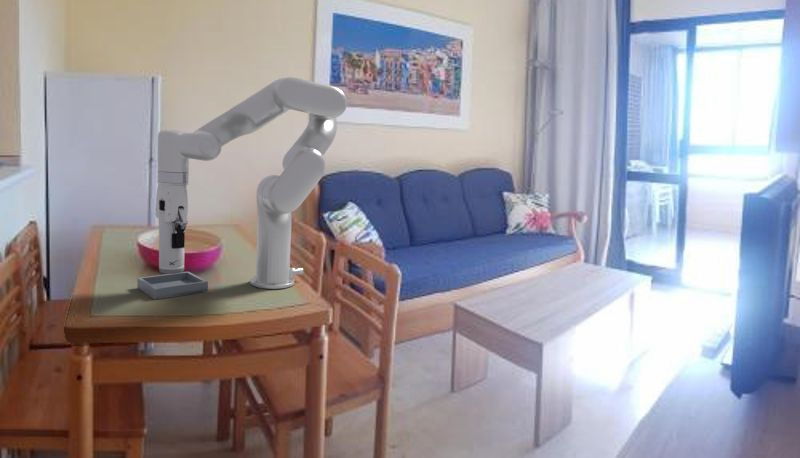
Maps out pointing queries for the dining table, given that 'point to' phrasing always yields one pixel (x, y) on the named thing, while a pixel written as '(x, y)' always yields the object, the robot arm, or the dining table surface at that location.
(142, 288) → the tray
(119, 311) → the dining table surface
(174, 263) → the travel mug
